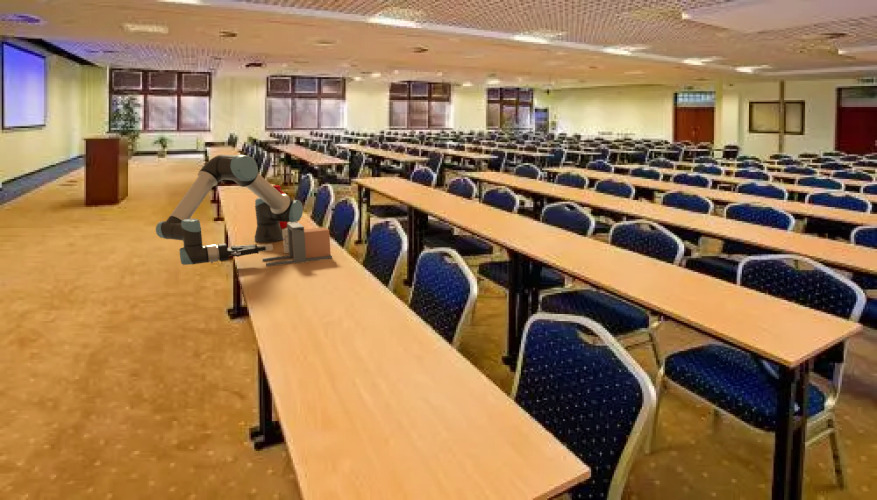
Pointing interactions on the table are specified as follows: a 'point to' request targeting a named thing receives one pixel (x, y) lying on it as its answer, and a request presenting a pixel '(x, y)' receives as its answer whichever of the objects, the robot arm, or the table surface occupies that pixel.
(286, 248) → the ink cartridge box
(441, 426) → the table surface
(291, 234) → the grey stand
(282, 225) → the water bottle
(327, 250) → the brick
